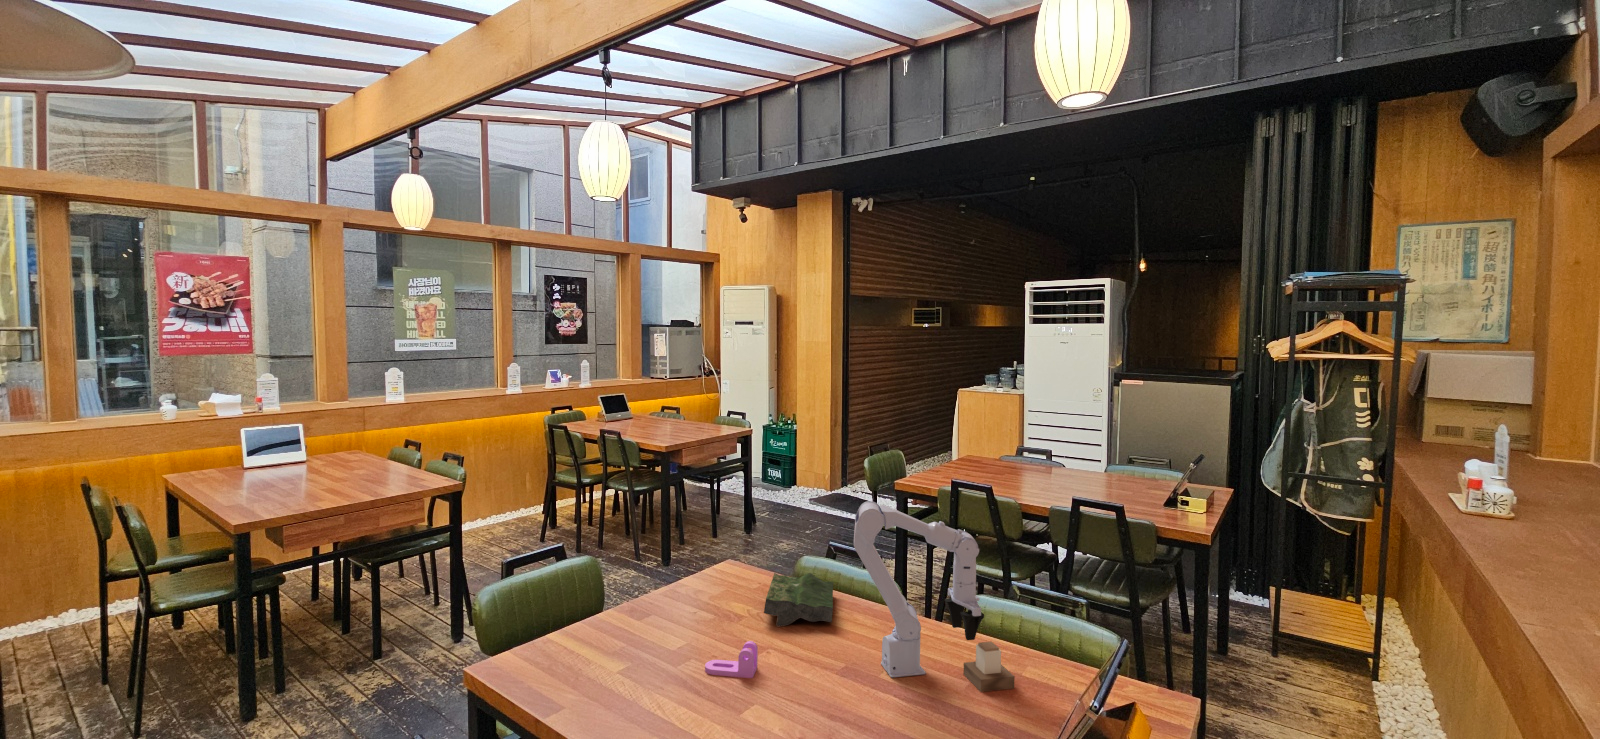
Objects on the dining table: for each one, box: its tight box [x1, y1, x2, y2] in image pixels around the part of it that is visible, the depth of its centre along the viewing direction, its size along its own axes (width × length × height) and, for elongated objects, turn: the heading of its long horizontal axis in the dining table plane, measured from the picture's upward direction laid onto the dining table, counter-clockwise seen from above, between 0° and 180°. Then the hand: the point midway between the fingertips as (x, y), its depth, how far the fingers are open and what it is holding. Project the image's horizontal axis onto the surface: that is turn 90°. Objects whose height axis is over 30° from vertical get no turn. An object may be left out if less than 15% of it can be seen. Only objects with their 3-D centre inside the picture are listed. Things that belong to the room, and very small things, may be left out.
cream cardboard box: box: [975, 641, 1002, 674], centre depth 164 cm, size 4×4×6 cm
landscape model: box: [763, 572, 834, 627], centre depth 208 cm, size 26×20×10 cm
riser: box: [962, 660, 1016, 693], centre depth 164 cm, size 9×9×3 cm
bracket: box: [704, 640, 759, 679], centre depth 167 cm, size 13×6×7 cm, turn 82°
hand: (963, 633), depth 168 cm, fingers open, 7 cm apart
